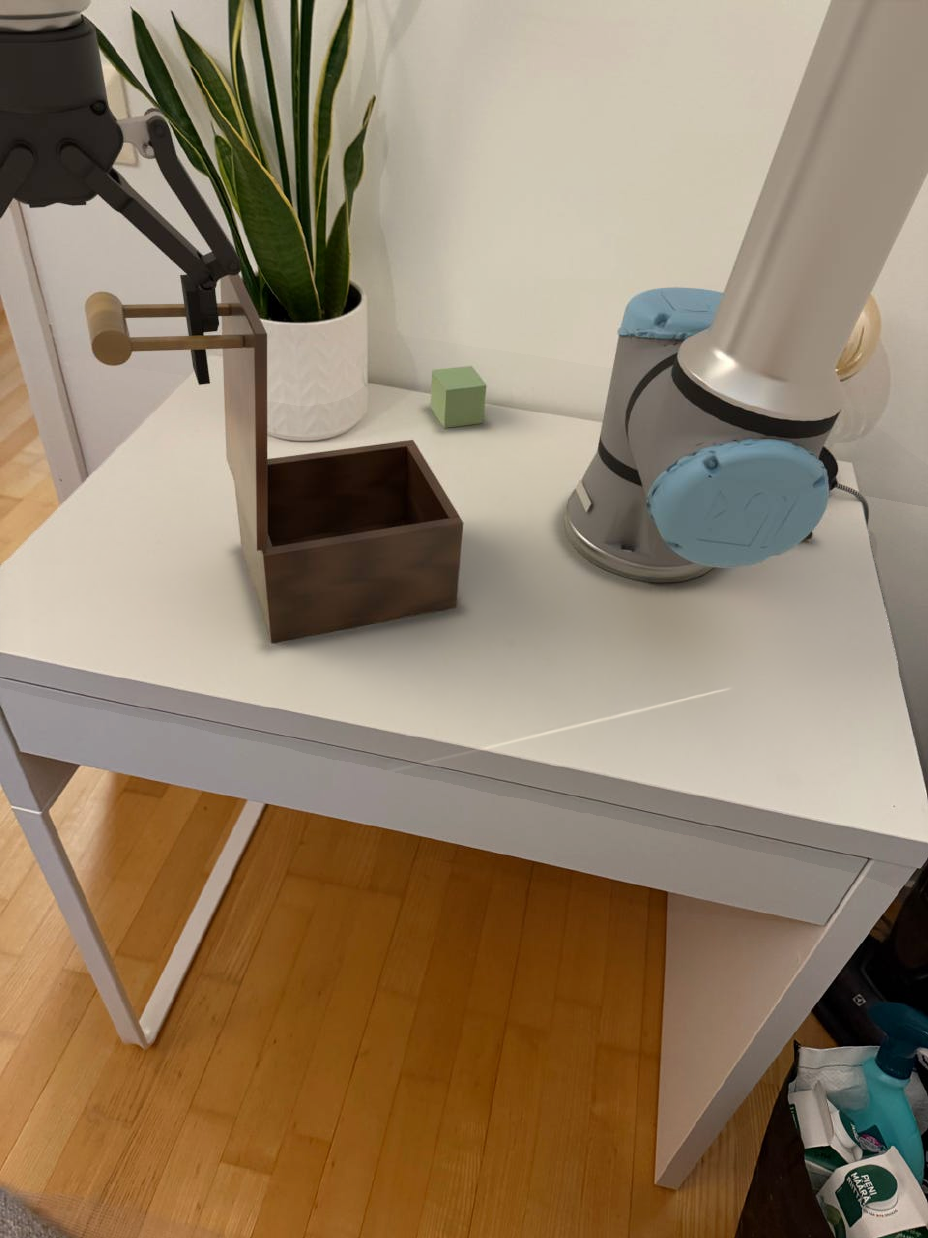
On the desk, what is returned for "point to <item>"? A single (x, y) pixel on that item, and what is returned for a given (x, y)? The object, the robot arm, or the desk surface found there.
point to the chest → (353, 540)
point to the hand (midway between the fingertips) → (98, 386)
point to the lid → (241, 378)
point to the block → (458, 396)
